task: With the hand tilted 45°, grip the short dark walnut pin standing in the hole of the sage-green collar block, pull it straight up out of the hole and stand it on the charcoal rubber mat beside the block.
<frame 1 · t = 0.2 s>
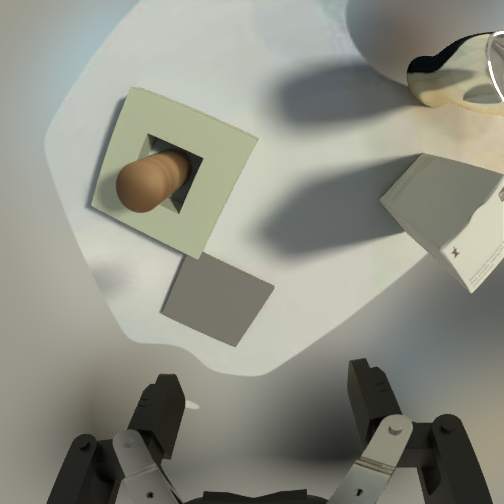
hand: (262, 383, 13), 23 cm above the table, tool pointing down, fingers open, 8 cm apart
walnut pin: (157, 176, 28), in the collar block
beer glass: (428, 81, 25), on the table
collar block: (172, 168, 32), on the table
rubber mat: (214, 300, 38), on the table
skincare box: (414, 190, 31), on the table
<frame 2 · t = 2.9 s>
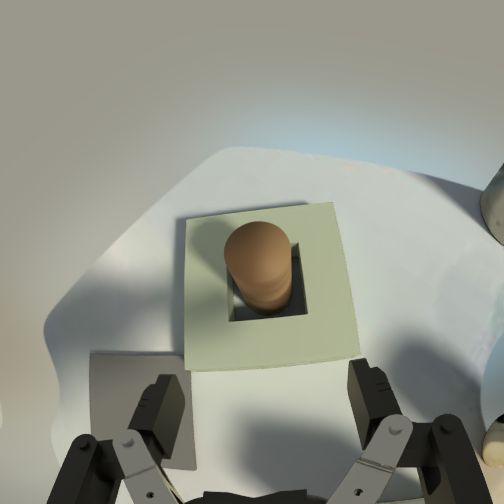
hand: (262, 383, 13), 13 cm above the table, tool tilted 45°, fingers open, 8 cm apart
walnut pin: (263, 274, 24), in the collar block
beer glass: (501, 439, 18), on the table
collar block: (267, 291, 28), on the table
rubber mat: (138, 411, 24), on the table
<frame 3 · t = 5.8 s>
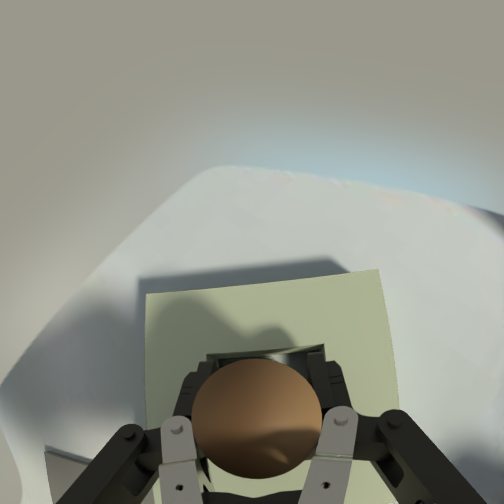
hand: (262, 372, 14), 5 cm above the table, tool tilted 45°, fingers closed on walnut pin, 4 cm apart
walnut pin: (265, 410, 13), in the collar block, touching gripper
collar block: (272, 404, 17), on the table
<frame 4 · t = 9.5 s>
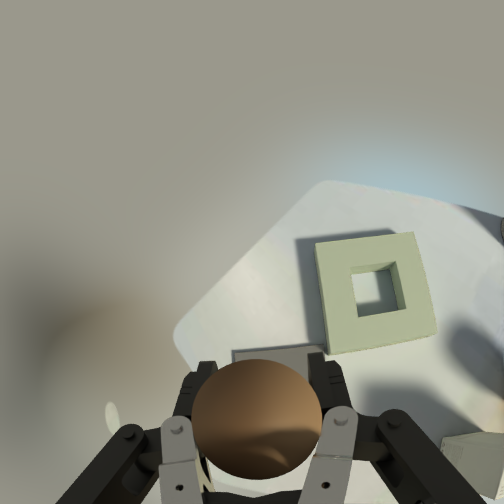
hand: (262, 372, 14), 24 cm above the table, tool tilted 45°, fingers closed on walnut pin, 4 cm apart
walnut pin: (266, 410, 13), point 24 cm above the table, touching gripper
collar block: (372, 294, 38), on the table
rubber mat: (282, 392, 34), on the table
skincare box: (461, 451, 26), on the table
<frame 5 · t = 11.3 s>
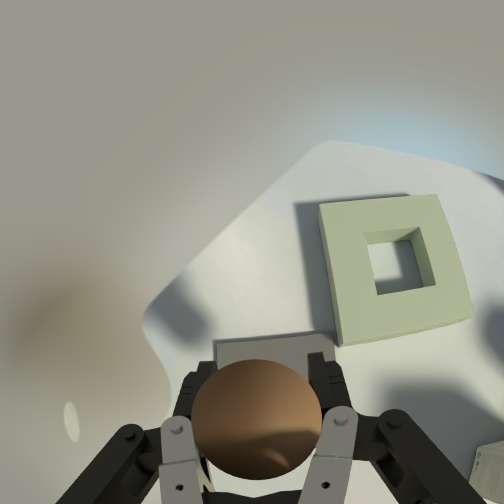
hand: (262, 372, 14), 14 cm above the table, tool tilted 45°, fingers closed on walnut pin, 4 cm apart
walnut pin: (265, 410, 13), point 14 cm above the table, touching gripper
collar block: (392, 270, 29), on the table
rubber mat: (279, 396, 26), on the table
skincare box: (496, 461, 18), on the table
when the fingers open (7 cm above the table, at t = 13.2 s): walnut pin drops 1 cm, resting on rubber mat.
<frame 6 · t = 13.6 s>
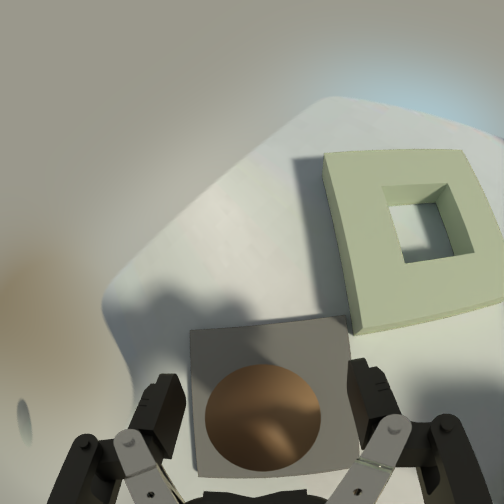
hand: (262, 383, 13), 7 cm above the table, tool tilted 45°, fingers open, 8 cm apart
walnut pin: (270, 409, 14), on the rubber mat, point 5 cm above the table
collar block: (417, 237, 22), on the table
rubber mat: (273, 402, 19), on the table
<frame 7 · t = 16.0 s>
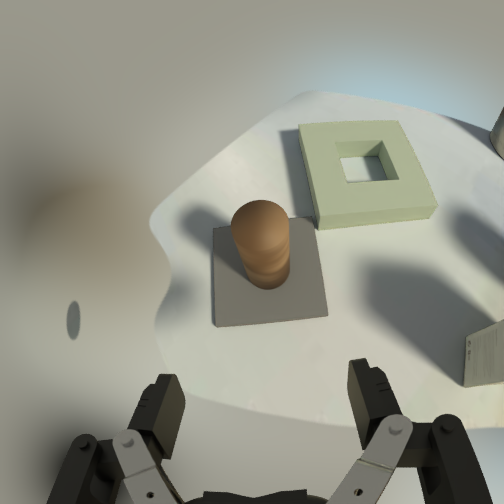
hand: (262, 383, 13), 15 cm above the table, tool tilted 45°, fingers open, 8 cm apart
walnut pin: (264, 249, 27), on the rubber mat, point 5 cm above the table
collar block: (362, 175, 35), on the table
rubber mat: (267, 270, 32), on the table
skincare box: (490, 359, 24), on the table
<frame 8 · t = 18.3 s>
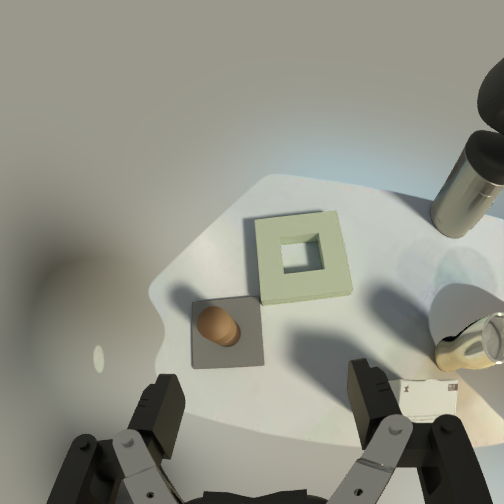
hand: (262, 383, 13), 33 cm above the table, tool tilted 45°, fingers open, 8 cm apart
walnut pin: (220, 328, 42), on the rubber mat, point 5 cm above the table
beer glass: (448, 354, 40), on the table
collar block: (301, 260, 50), on the table
rubber mat: (226, 333, 47), on the table
skincare box: (388, 401, 39), on the table
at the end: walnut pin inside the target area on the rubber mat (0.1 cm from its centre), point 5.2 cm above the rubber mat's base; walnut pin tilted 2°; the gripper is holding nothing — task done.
